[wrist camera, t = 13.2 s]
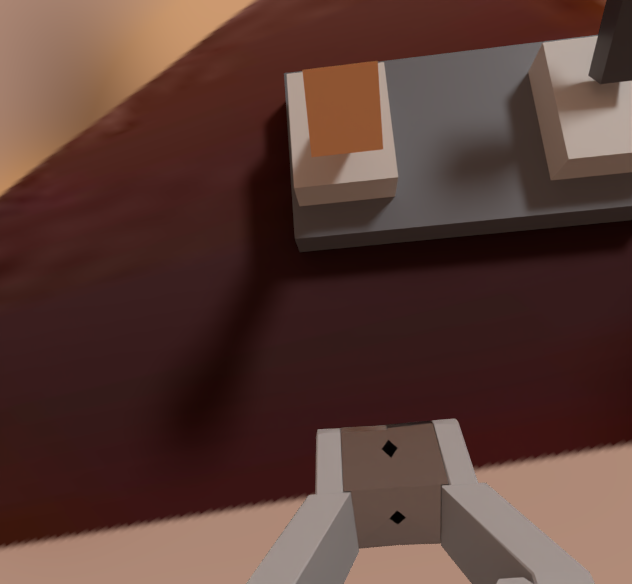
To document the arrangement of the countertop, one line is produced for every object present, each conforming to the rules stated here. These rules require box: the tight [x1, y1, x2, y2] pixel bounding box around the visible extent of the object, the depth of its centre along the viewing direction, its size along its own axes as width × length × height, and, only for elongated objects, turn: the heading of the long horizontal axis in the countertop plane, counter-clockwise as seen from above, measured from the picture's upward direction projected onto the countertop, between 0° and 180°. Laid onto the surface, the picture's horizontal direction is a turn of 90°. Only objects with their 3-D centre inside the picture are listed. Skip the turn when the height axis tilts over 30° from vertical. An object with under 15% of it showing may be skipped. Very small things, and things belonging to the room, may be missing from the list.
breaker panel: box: [284, 35, 632, 252], centre depth 36 cm, size 26×14×6 cm, turn 94°
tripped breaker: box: [302, 61, 383, 157], centre depth 27 cm, size 3×4×12 cm
